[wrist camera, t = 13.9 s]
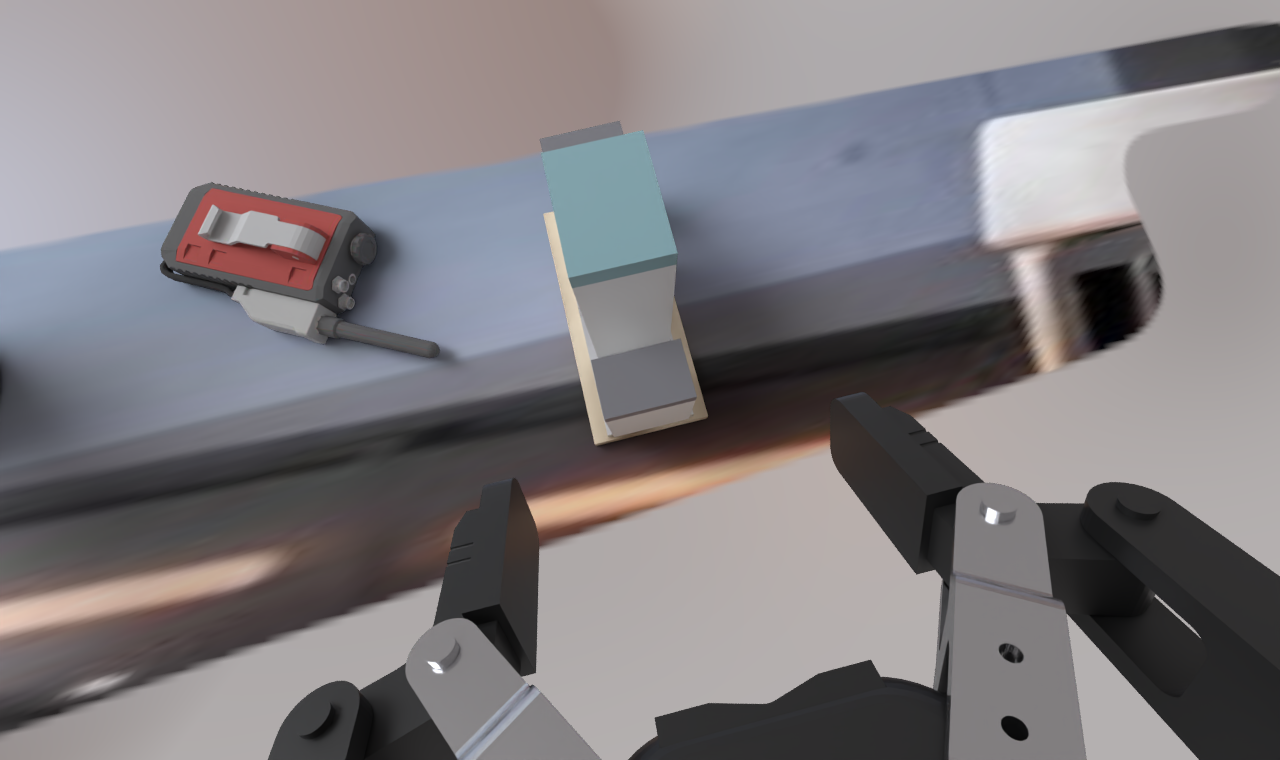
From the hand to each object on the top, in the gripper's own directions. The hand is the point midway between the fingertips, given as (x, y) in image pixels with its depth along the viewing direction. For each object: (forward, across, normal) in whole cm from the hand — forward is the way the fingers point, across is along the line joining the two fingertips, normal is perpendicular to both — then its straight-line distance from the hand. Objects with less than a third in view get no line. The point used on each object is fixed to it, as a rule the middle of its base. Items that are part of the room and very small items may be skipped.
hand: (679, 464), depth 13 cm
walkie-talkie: (+27, +19, 0) cm, 33 cm away
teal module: (+20, 0, +4) cm, 20 cm away
